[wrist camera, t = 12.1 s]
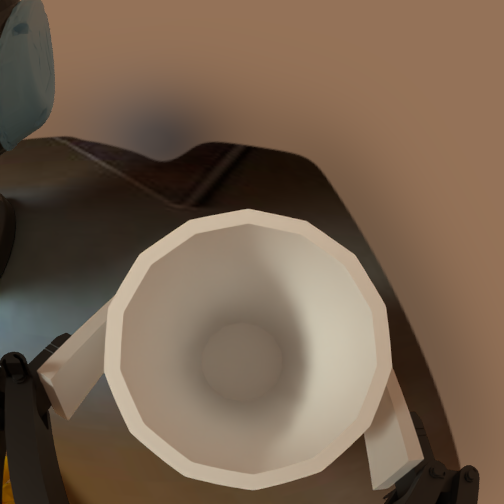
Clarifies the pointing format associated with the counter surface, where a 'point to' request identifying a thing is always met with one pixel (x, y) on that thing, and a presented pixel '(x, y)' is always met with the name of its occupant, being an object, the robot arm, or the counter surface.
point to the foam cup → (247, 349)
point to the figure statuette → (7, 486)
